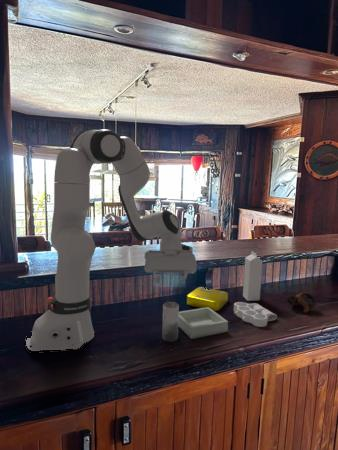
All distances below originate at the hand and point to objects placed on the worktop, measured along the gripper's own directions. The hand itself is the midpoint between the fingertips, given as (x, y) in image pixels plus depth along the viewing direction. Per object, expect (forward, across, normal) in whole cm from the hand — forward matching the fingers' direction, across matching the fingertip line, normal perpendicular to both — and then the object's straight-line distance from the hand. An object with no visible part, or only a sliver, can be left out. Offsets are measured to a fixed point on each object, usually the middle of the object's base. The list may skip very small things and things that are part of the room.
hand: (170, 282), depth 126 cm
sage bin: (+14, +12, +9) cm, 20 cm away
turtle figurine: (0, +57, +23) cm, 62 cm away
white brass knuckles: (+7, +34, +17) cm, 39 cm away
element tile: (-3, +18, +27) cm, 32 cm away
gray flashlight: (+20, 0, +3) cm, 20 cm away
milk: (-8, +39, +31) cm, 50 cm away
